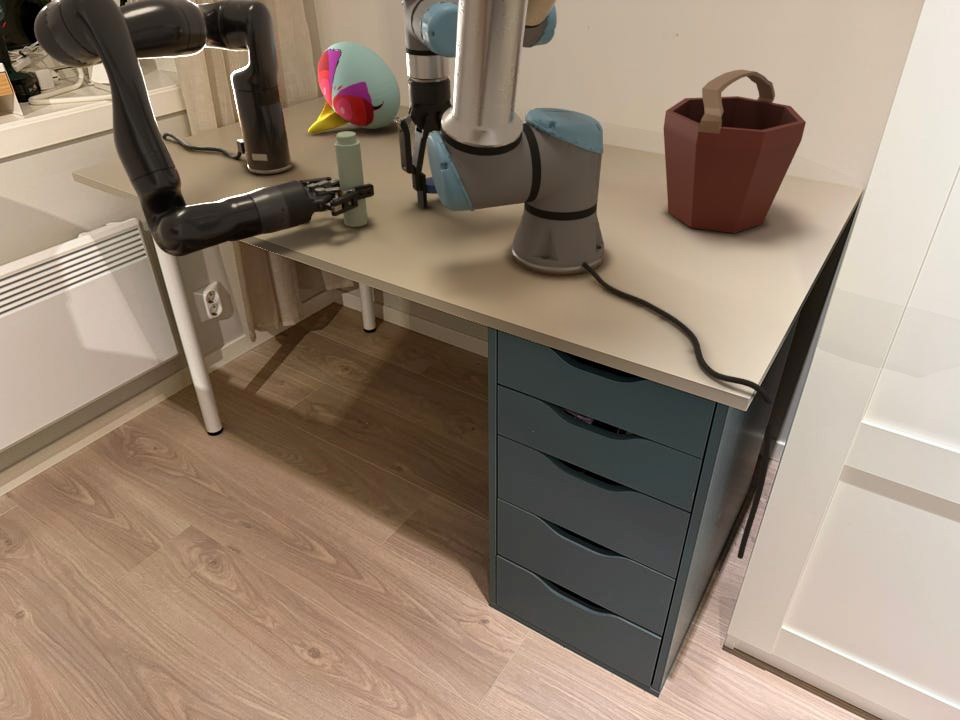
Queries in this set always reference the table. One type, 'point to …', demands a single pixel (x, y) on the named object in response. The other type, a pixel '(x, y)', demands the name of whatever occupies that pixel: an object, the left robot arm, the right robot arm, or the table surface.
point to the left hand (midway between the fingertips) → (365, 185)
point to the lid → (430, 186)
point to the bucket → (728, 154)
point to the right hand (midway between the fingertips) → (434, 202)
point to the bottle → (351, 174)
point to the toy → (355, 88)
